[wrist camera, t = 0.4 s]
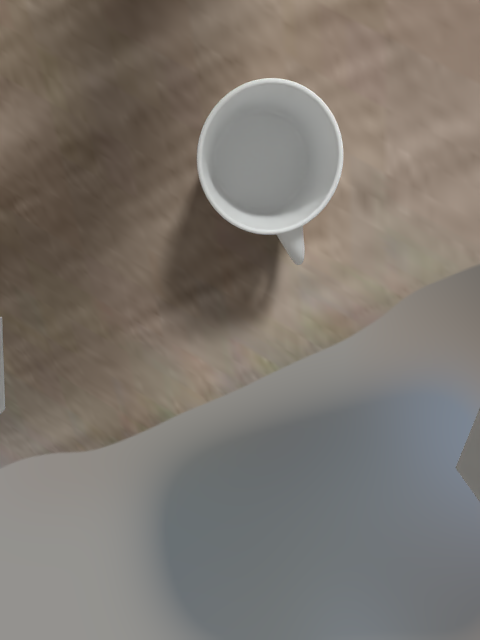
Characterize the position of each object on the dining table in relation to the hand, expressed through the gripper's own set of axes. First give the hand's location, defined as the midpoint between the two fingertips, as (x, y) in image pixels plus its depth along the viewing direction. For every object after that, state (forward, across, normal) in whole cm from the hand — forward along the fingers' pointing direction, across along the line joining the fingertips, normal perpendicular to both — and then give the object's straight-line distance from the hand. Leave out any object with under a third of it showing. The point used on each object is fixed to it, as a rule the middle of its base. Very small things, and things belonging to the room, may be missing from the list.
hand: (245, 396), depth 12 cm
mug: (+27, +2, +5) cm, 28 cm away
